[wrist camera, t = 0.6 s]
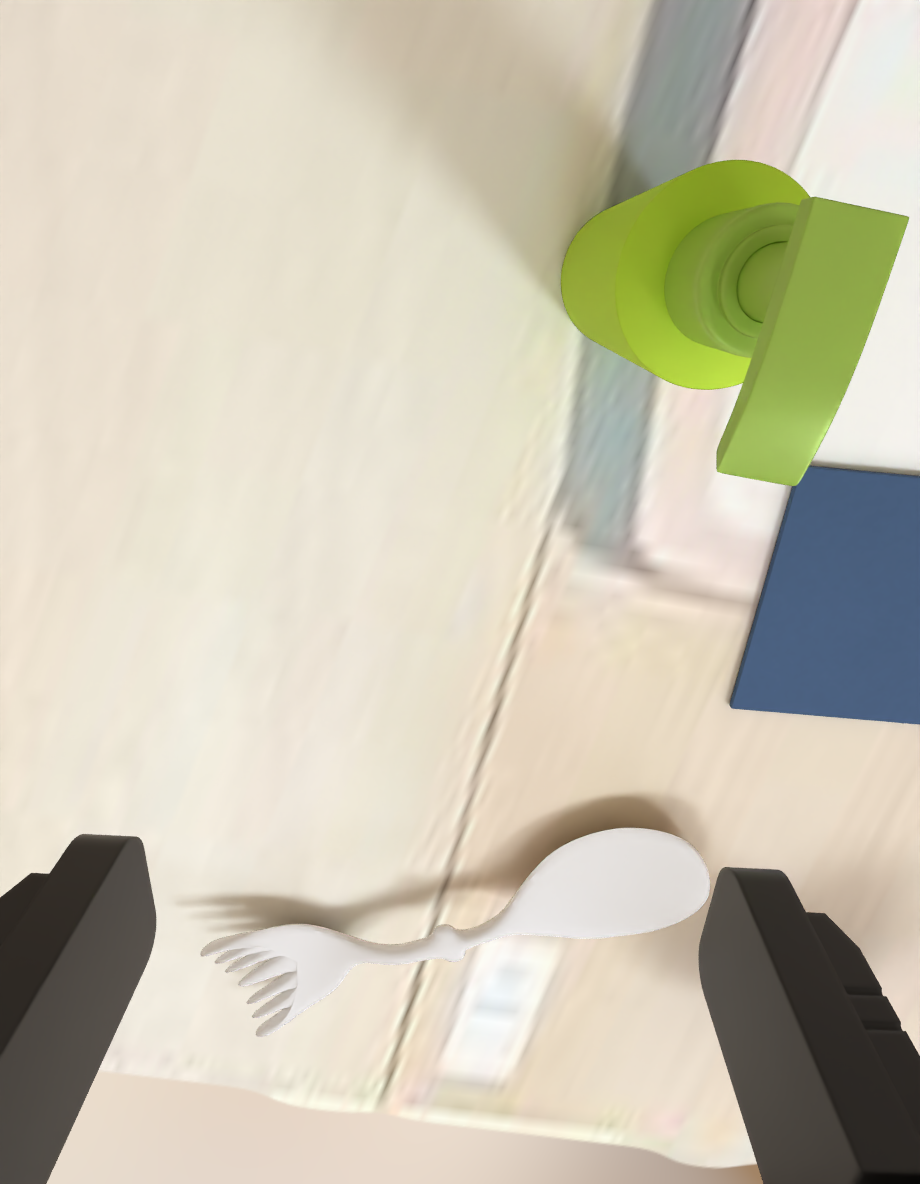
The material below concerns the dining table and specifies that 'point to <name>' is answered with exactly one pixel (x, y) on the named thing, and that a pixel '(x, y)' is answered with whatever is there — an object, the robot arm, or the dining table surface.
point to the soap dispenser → (739, 300)
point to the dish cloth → (840, 603)
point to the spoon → (539, 907)
